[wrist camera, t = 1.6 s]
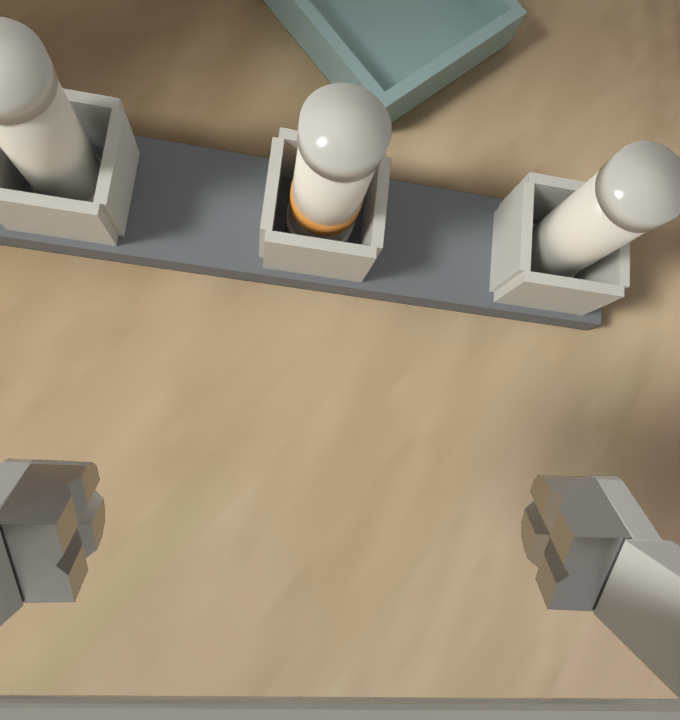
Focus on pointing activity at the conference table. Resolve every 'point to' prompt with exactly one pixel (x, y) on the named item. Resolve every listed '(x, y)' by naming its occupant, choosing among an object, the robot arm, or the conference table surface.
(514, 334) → the conference table surface
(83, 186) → the peg
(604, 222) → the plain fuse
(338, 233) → the marked fuse
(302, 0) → the tray
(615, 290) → the fuse holder
